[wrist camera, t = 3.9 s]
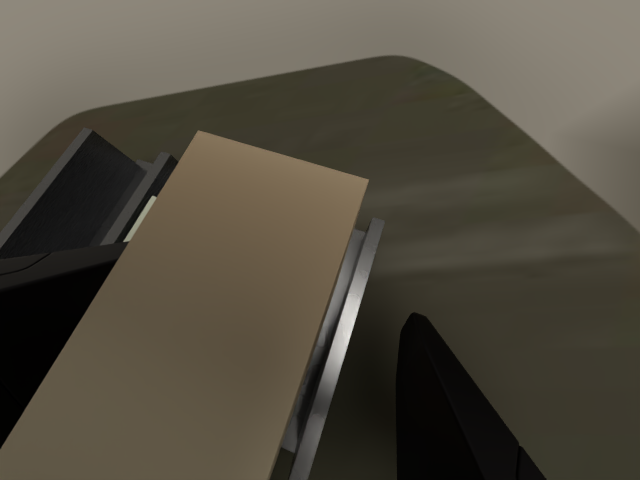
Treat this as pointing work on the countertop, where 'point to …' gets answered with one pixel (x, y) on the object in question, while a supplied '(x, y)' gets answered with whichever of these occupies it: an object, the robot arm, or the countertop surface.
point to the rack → (120, 216)
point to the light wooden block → (197, 327)
